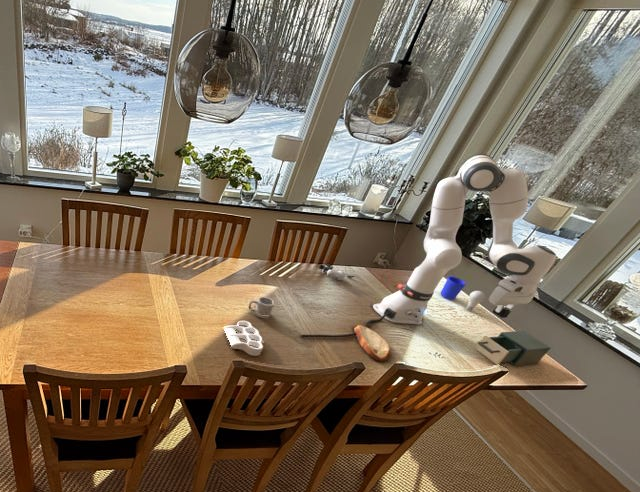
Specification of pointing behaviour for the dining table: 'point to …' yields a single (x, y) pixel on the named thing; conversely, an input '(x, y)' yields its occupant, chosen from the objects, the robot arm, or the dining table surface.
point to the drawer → (499, 349)
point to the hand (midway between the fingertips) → (501, 311)
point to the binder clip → (503, 313)
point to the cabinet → (527, 347)
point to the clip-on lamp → (333, 272)
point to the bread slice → (372, 343)
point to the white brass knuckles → (244, 337)
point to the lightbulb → (475, 299)
